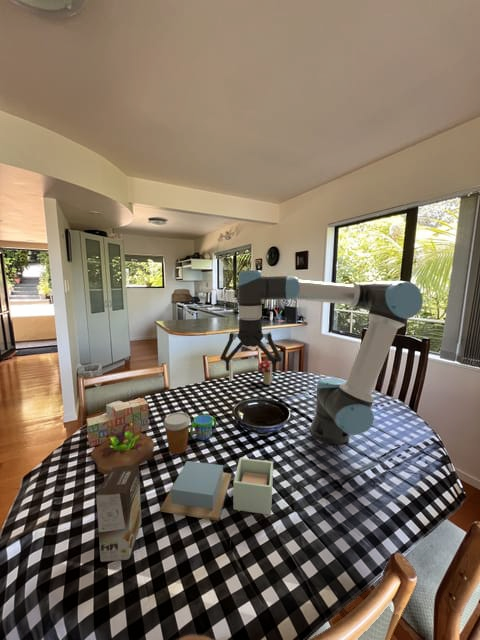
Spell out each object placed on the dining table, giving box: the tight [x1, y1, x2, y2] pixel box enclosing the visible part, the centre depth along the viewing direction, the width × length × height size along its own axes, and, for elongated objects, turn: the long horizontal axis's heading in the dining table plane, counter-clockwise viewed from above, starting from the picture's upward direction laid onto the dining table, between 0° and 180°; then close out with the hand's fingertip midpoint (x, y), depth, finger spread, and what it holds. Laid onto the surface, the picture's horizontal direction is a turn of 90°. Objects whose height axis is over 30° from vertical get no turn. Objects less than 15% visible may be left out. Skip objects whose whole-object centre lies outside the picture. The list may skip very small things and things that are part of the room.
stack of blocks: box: [86, 397, 150, 448], centre depth 103 cm, size 21×6×12 cm, turn 125°
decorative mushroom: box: [257, 359, 271, 386], centre depth 157 cm, size 11×11×15 cm
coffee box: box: [95, 465, 142, 562], centre depth 60 cm, size 9×6×16 cm
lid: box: [170, 460, 224, 509], centre depth 75 cm, size 12×12×4 cm
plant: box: [90, 423, 155, 475], centre depth 92 cm, size 20×20×11 cm
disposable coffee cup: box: [163, 412, 191, 455], centre depth 95 cm, size 10×10×12 cm
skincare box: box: [105, 400, 124, 414], centre depth 116 cm, size 6×6×7 cm
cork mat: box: [159, 469, 232, 521], centre depth 76 cm, size 16×16×1 cm
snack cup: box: [189, 414, 217, 441], centre depth 103 cm, size 11×8×7 cm
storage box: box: [232, 457, 274, 516], centre depth 74 cm, size 10×10×8 cm
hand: (250, 380), depth 88 cm, fingers open, 13 cm apart
